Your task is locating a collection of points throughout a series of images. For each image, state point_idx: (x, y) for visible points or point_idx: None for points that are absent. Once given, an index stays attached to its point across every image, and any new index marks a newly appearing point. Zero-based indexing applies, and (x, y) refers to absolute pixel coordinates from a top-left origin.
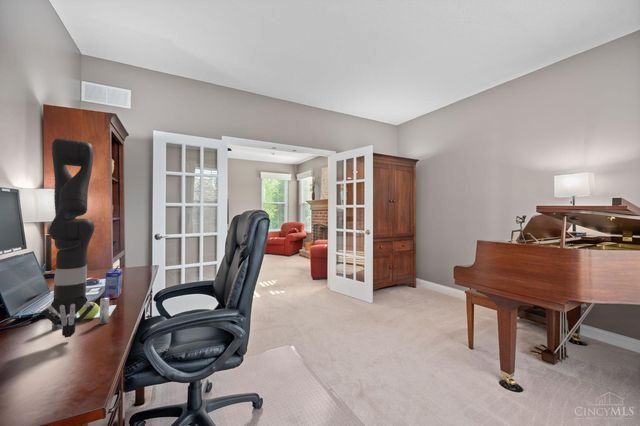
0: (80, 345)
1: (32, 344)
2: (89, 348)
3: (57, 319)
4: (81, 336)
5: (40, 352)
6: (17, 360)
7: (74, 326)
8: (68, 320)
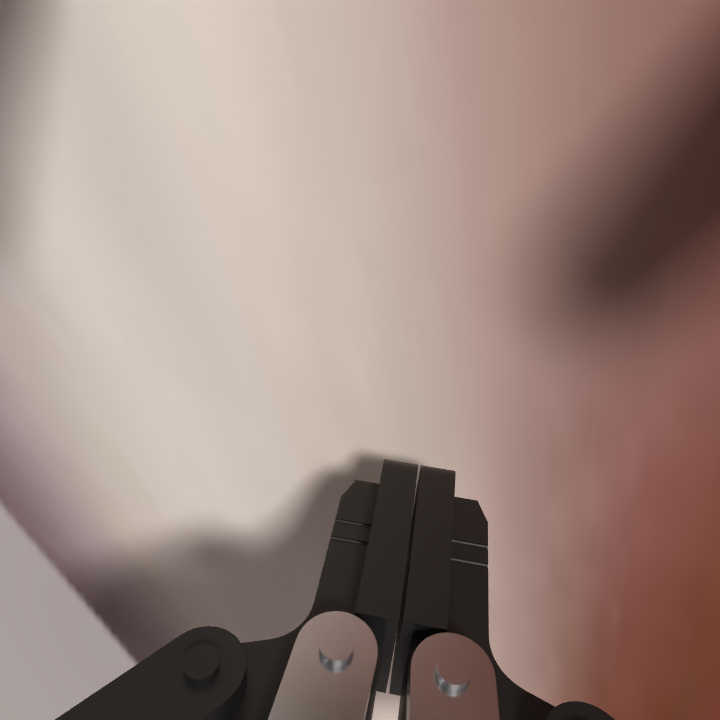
0: (549, 603)
1: (54, 337)
2: (620, 687)
3: (165, 716)
4: (561, 375)
5: (240, 562)
6: (139, 603)
7: (475, 614)
8: (363, 696)
